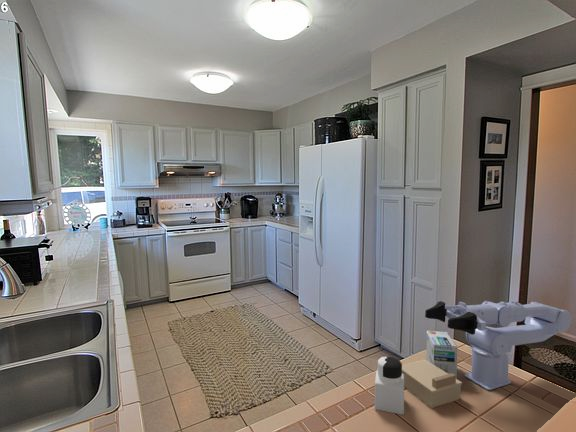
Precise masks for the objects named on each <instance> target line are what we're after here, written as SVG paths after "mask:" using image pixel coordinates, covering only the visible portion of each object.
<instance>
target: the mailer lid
mask: <svg viewBox="0 0 576 432" xmlns="http://www.w3.org/2000/svg"><path fill="white" fill-rule="evenodd" d="M402 372H404V373H405V374H406V375H408V376H409V377H411V378H412V379H413V380H415V381H416V382H417V383H419V384H420V385H422V386H423V387H424V388H426V389H427V390H428V391H430V392H431V393H435V392H438V391H441V390H444V389H448V388H451V387H454V386H458V385H461V386H462V385H463V382H462V381H461V380H459V379H458V378H457V379H456V375H455V374H453V373H450V374H448V373H446V372H445V371H443V370H441V369H440V368H438V367H436V366H435V365H433V364H432V363H430V362H428V361H427V360H426V359H425V358H423V359H419V360H415V361H411V362H407V363H403V364H402Z"/></svg>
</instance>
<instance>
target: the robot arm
mask: <svg viewBox="0 0 576 432" xmlns="http://www.w3.org/2000/svg"><path fill="white" fill-rule="evenodd" d="M424 314H425V316H424V317H425V319H426V318H427V319H433V320H437V321H440V322H443V323H446V318H447V328H448V329H452V330H455V331H456V330H457V331H461V332H465V338H466V342H467V343H468V344H469V348H471V372H468V373H465V374H464V377H466V379H468V380H470V381H472V382H473V383H475V384H476V385H478V386H480V387H482V388H483V389H485V390H487V391H491V390H494V389H498V388H501V387H504V386H507V385H510V384H512V381H511V380H509V367H510V366H509V361H510V360H509V358H508V356H507V353H511V352H512V348H513V346H520V345H526V344H527V345H528V344H534V343H541V342H545V341H546V340H548V339H550V338H551V337H553V336H555V335H556V334H562V333H563V334H564V333H566V332H568V329H569V327H570V326H571V324H572V322H573V321H572V317H573V316H572V315H571V312H570V311H569V310H567V309H561V308H557V307H554V306H551V305H547V304H544V303H540V302H538V301H531V302H530V303H527V304H522V303H520V302H518V301H516V300H514V299H512V300H510V301H509V302H504V301H499V302H498V303H495V302H492V301H488V300H485V301H483V302H482V303H481V304H471V305H470V304H469V305H467V303H466V302H462V301H458V304H456V305H446V302H444V301H441V300H440V301H437V302H436V303H435V305H433V306H432V307H430V308H427V309H425V313H424ZM523 321H524V324H521V325H513V326H509V325H511V323H520V322H523ZM495 324H496V325H498V326H500V327H492V326H488V325H495Z"/></svg>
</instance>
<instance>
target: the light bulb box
mask: <svg viewBox="0 0 576 432" xmlns="http://www.w3.org/2000/svg"><path fill="white" fill-rule="evenodd" d="M425 351H426V355H425V356H426V359H425V360H427V361H428V362H430V363H432V364H433V365H435V366H436V367H438V368H440V369H441V370H443V371H445V372H446V373H448V374H450V373H453V374H455V375H456V379H457V380H458V378H457V377H458V376H457V375H458V346H457V344H456V343H455V342H454V341H453V339H452V338H451V336H450V334H449V333H448V332H447V331H437V330H436V331H435V330H426V350H425Z"/></svg>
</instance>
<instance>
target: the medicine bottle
mask: <svg viewBox="0 0 576 432" xmlns="http://www.w3.org/2000/svg"><path fill="white" fill-rule="evenodd" d="M402 365H403V364H402V362H401V361H400V360H399V359H398V358H397V357H396V358H395V357H394V356H381V357H380V358H379V359H378V360H377V369H376V373H375V381H374V409H375V410H376V411H383V412H387V413H392V414H397V415H402V416H404V414H405V387H404V374H402Z"/></svg>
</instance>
